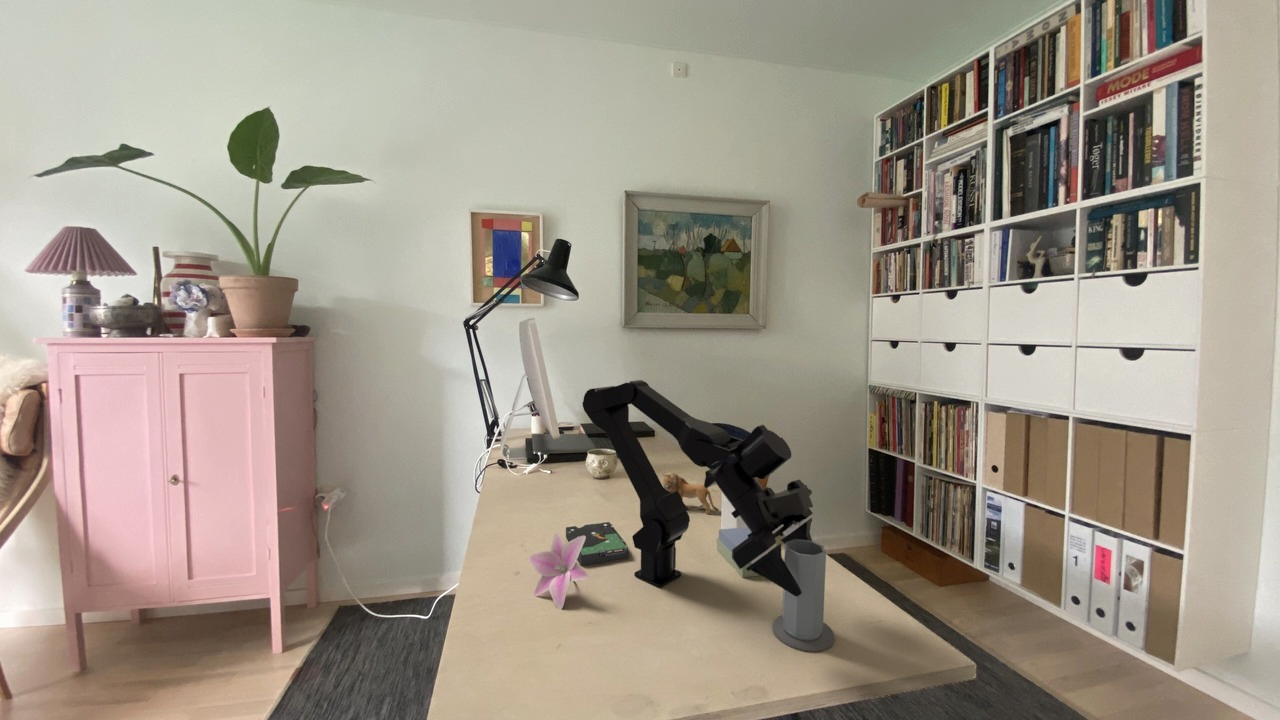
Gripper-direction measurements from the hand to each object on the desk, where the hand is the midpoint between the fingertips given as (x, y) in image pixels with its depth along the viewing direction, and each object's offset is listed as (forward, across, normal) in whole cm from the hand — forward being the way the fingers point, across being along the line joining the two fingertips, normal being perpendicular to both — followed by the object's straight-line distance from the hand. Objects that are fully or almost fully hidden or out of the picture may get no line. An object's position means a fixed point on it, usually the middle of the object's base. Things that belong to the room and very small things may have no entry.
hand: (810, 582), depth 75 cm
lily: (-21, -16, +33) cm, 42 cm away
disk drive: (-26, +2, +39) cm, 47 cm away
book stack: (-7, +16, +19) cm, 26 cm away
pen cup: (+5, 0, +6) cm, 8 cm away
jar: (-13, +29, +25) cm, 40 cm away
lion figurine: (-24, +33, +37) cm, 55 cm away
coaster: (+5, 0, +6) cm, 8 cm away
